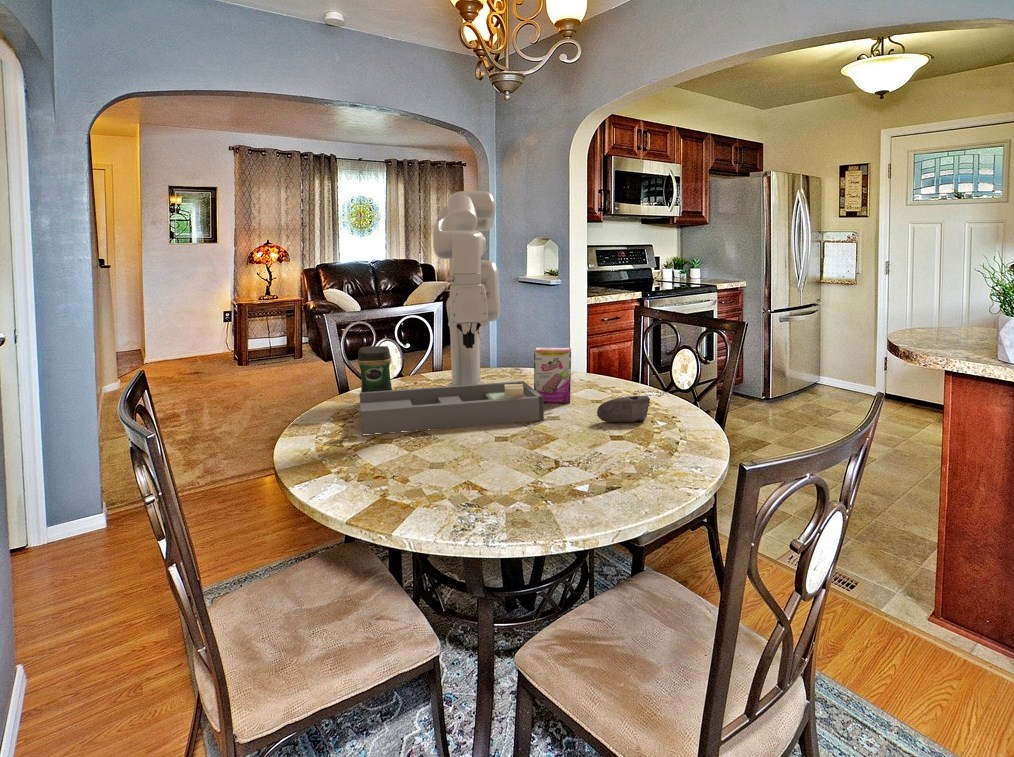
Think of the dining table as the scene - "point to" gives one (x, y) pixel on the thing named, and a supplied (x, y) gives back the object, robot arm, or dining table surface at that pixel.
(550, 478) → the dining table surface
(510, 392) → the maple block
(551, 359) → the candy bar box
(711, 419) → the dining table surface
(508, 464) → the dining table surface
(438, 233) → the robot arm
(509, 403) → the box
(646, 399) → the perforated stone tool
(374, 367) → the coffee jar
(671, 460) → the dining table surface
